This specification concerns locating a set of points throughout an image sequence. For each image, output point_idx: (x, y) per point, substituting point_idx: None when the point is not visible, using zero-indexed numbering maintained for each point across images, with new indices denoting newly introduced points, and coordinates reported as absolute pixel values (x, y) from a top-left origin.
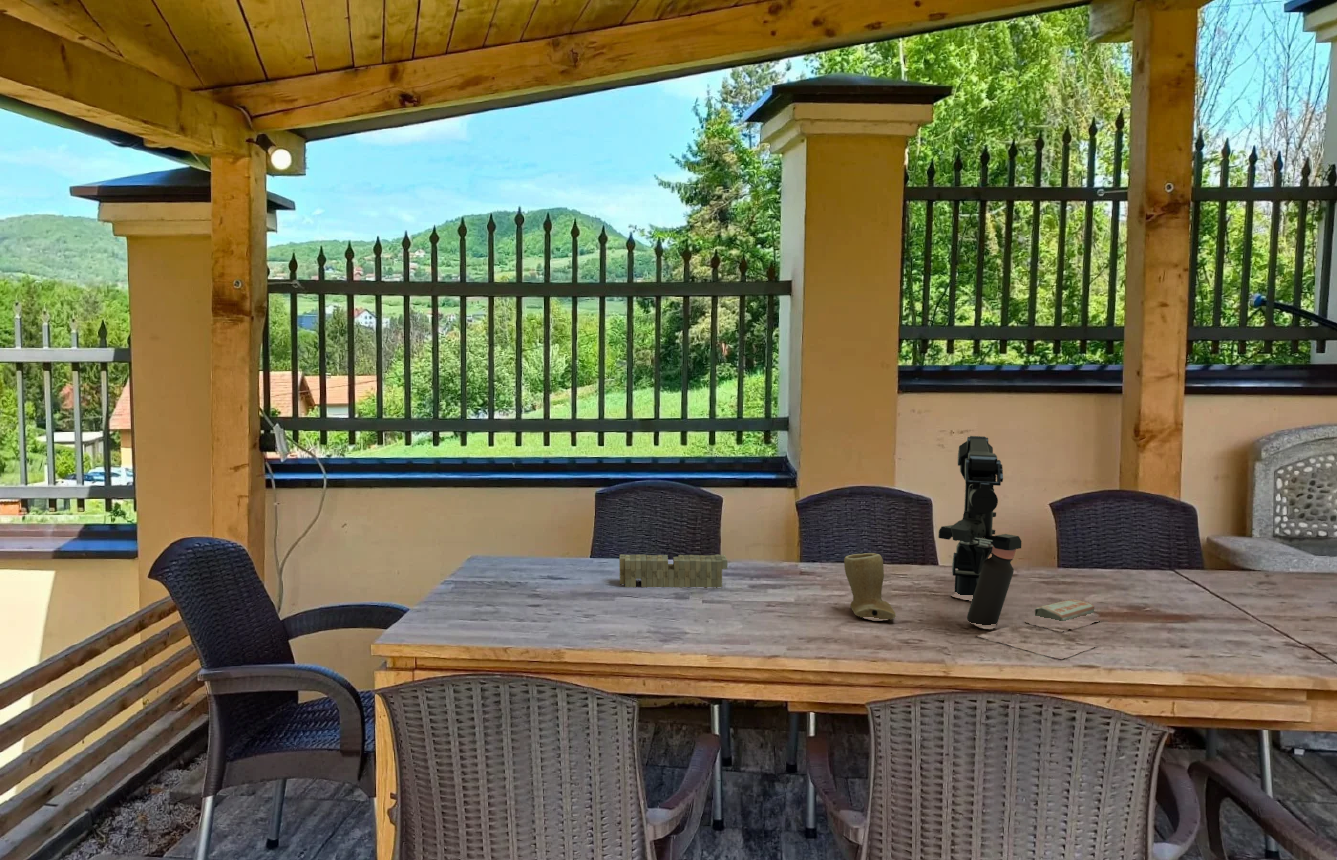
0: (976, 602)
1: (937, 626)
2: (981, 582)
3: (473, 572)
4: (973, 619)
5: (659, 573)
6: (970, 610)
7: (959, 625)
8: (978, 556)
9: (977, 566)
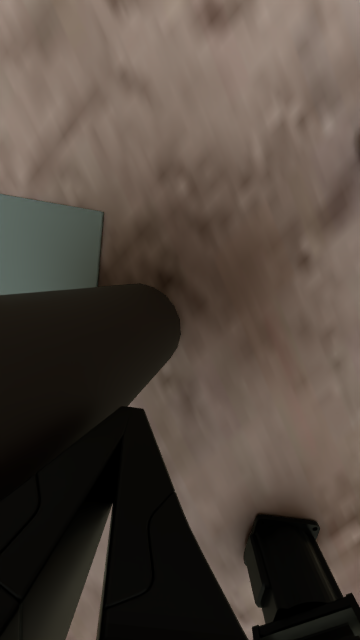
0: (120, 293)
1: (237, 234)
2: (55, 308)
3: None
4: (142, 286)
5: None
6: (156, 301)
7: (193, 295)
8: (6, 535)
9: (97, 436)
